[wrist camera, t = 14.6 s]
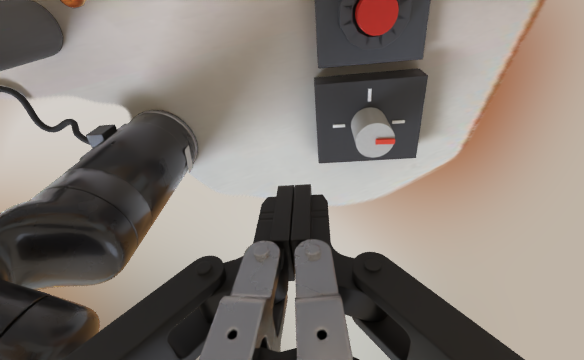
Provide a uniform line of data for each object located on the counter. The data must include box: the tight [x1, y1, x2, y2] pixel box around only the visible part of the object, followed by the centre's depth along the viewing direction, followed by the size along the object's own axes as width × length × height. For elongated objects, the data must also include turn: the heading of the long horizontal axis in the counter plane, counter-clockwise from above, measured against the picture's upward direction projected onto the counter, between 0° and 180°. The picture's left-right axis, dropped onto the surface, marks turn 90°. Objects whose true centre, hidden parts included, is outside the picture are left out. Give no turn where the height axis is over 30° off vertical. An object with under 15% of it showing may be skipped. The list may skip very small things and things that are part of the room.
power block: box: [315, 0, 431, 68], centre depth 30 cm, size 11×10×4 cm
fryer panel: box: [314, 69, 428, 163], centre depth 36 cm, size 12×10×3 cm
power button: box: [355, 0, 399, 36], centre depth 27 cm, size 4×4×2 cm
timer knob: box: [351, 107, 395, 158], centre depth 33 cm, size 4×4×5 cm
